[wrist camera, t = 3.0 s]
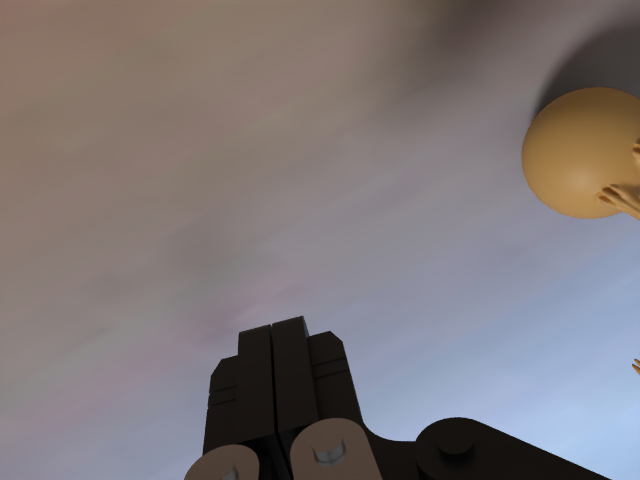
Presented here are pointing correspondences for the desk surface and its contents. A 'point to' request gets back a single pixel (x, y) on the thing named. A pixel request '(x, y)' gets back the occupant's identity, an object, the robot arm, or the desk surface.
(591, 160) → the figurine
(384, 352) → the desk surface
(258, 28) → the desk surface
